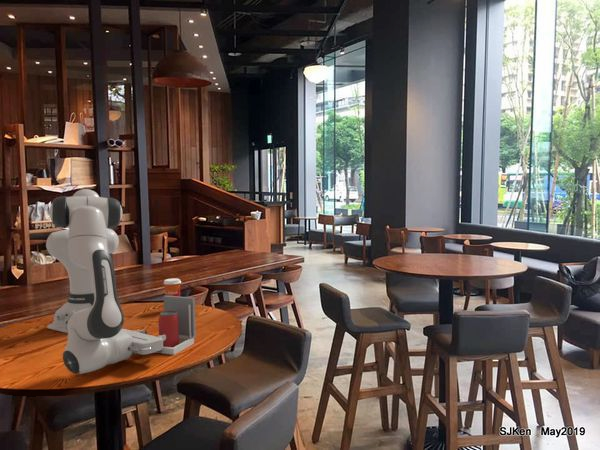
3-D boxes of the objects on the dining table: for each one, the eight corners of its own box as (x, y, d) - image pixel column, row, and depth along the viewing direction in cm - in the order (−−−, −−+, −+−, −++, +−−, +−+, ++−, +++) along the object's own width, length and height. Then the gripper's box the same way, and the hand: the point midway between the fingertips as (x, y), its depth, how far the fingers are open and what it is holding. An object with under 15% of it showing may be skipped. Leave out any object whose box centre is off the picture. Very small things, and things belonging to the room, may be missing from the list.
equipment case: (141, 351, 156) (140, 304, 155) (167, 339, 170) (165, 295, 168) (172, 355, 152) (170, 307, 151) (195, 342, 166) (194, 297, 164)
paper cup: (161, 312, 207) (160, 281, 206) (168, 308, 215) (167, 277, 214) (177, 313, 206) (176, 281, 205) (185, 308, 214) (184, 278, 213)
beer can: (173, 351, 157) (172, 315, 156) (155, 349, 158) (154, 314, 157) (182, 344, 163) (181, 310, 163) (165, 343, 165) (163, 310, 164)
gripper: (140, 342, 138) (176, 329, 150) (98, 331, 149) (134, 320, 161) (141, 362, 139) (177, 349, 150) (99, 350, 150) (135, 338, 161)
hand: (154, 334), depth 156 cm, fingers open, 8 cm apart
